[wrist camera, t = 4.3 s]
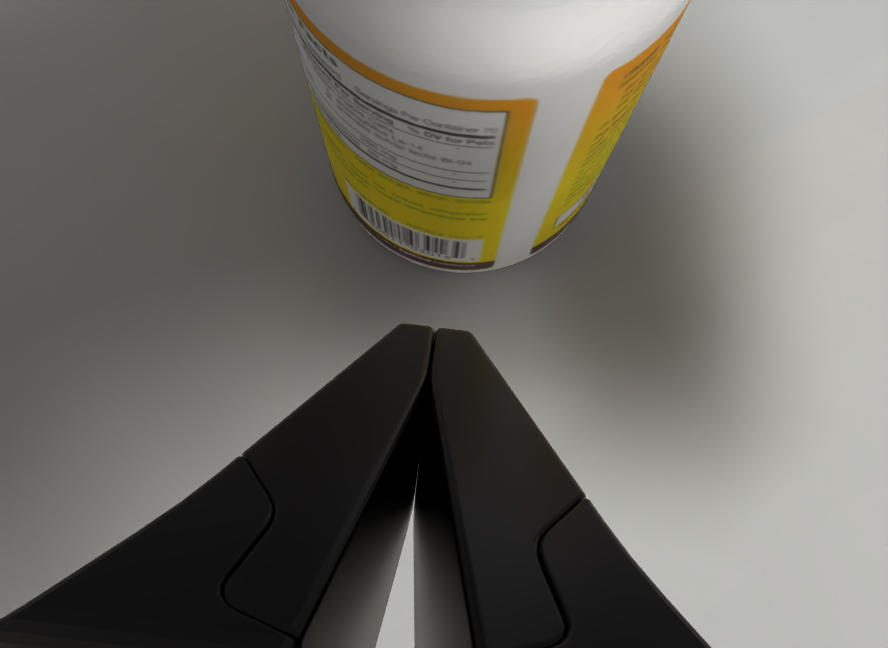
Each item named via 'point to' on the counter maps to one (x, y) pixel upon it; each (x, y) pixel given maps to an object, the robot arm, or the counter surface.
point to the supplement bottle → (474, 114)
